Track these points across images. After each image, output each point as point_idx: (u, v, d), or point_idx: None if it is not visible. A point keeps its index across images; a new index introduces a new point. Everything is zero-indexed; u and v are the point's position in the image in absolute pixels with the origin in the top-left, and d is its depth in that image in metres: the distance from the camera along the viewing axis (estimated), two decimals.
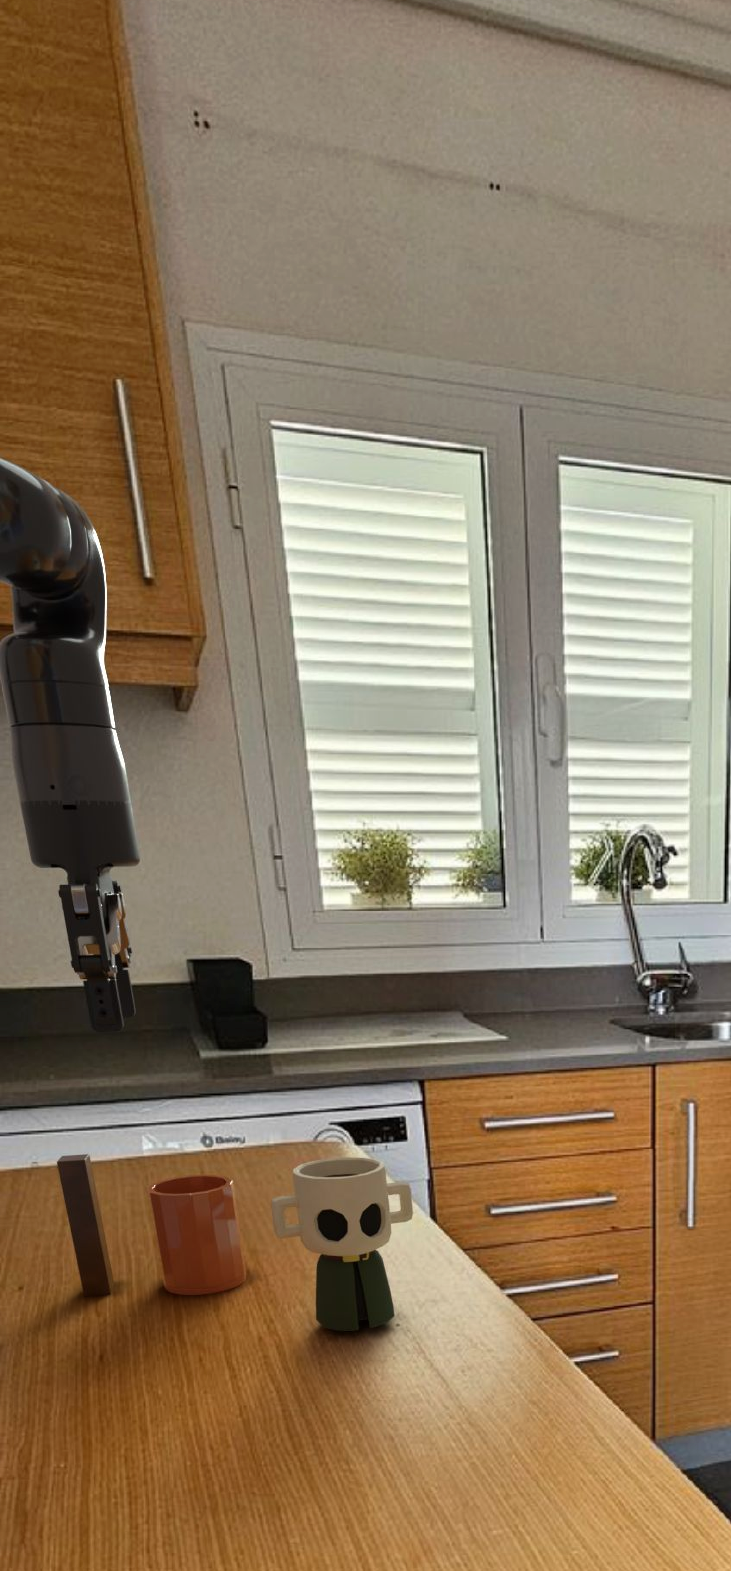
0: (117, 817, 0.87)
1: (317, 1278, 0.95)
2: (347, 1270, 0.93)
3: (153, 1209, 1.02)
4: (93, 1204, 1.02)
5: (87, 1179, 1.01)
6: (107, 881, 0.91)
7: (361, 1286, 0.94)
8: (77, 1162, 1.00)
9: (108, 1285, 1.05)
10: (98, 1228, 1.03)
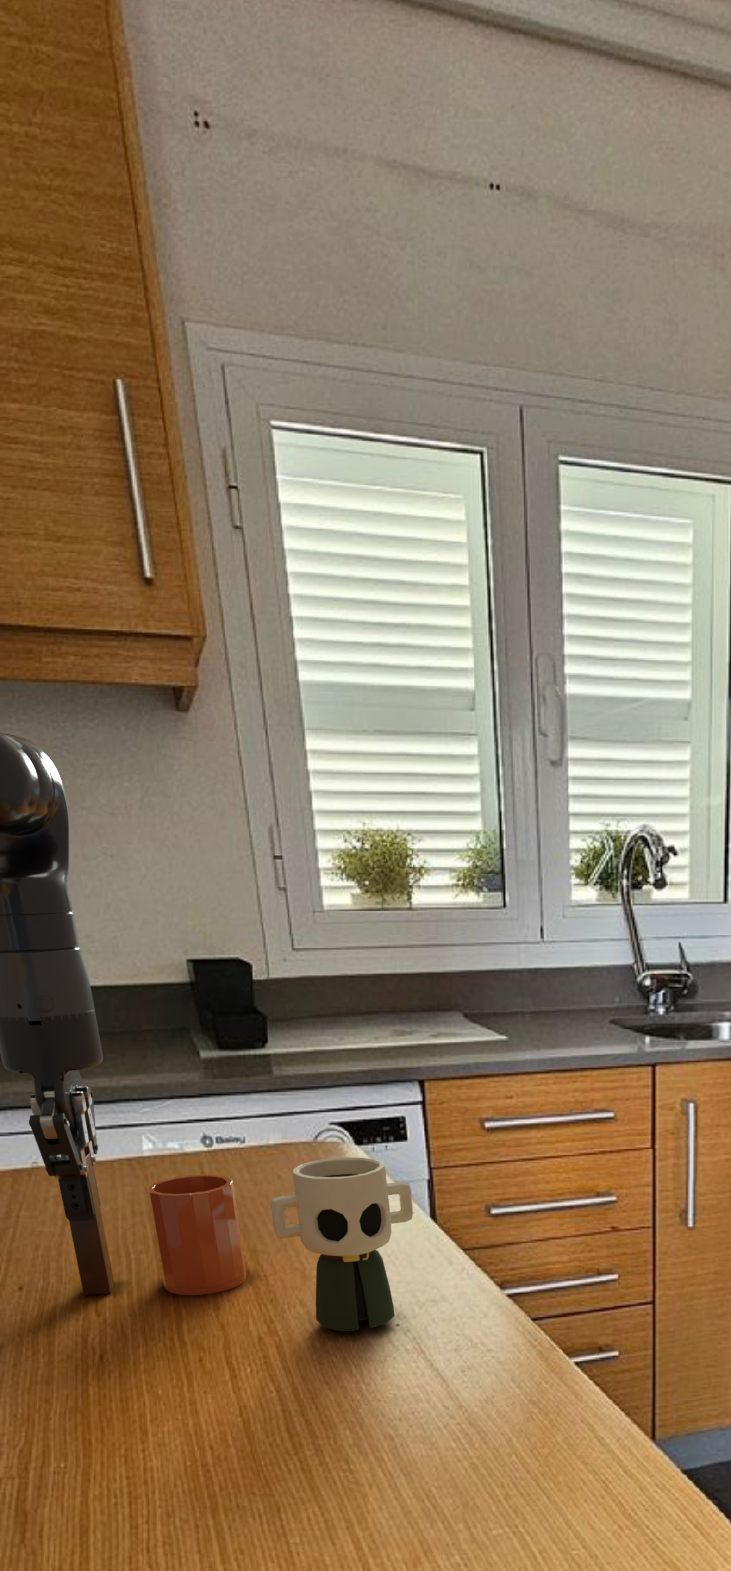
0: (79, 1027, 0.95)
1: (317, 1278, 0.95)
2: (347, 1270, 0.93)
3: (153, 1209, 1.02)
4: (93, 1203, 1.02)
5: None
6: (73, 1077, 1.00)
7: (361, 1286, 0.94)
8: None
9: (108, 1284, 1.05)
10: (98, 1227, 1.03)
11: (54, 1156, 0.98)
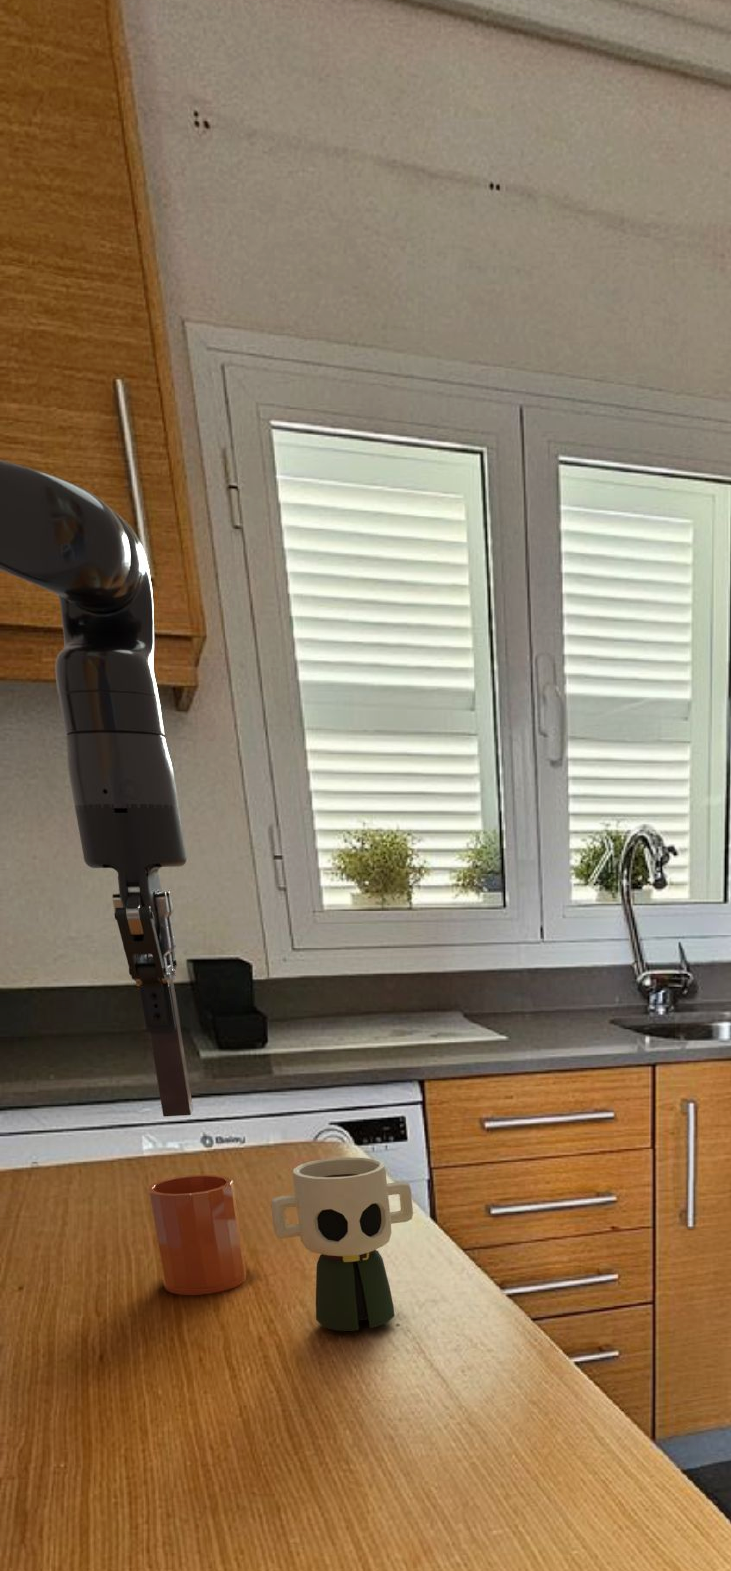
0: (165, 819, 0.92)
1: (317, 1278, 0.95)
2: (347, 1270, 0.93)
3: (153, 1209, 1.02)
4: (175, 1016, 0.98)
5: None
6: (155, 880, 0.96)
7: (361, 1286, 0.94)
8: None
9: (188, 1105, 1.01)
10: (179, 1043, 0.99)
11: (136, 960, 0.95)
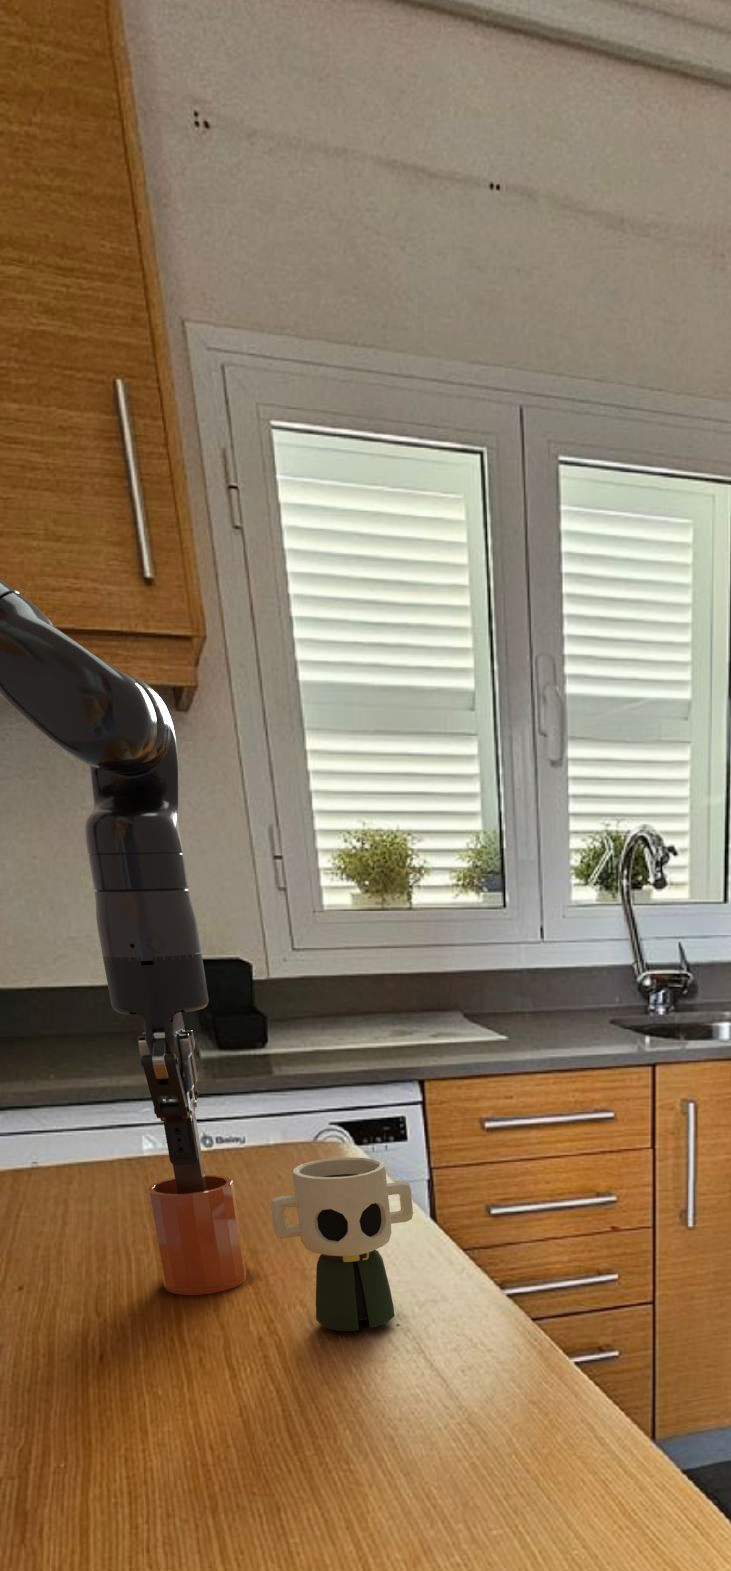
0: (189, 968, 0.96)
1: (317, 1278, 0.95)
2: (347, 1270, 0.93)
3: (153, 1209, 1.02)
4: (197, 1147, 1.02)
5: (192, 1122, 1.01)
6: (179, 1020, 1.00)
7: (361, 1286, 0.94)
8: None
9: None
10: (201, 1172, 1.03)
11: (161, 1099, 0.99)
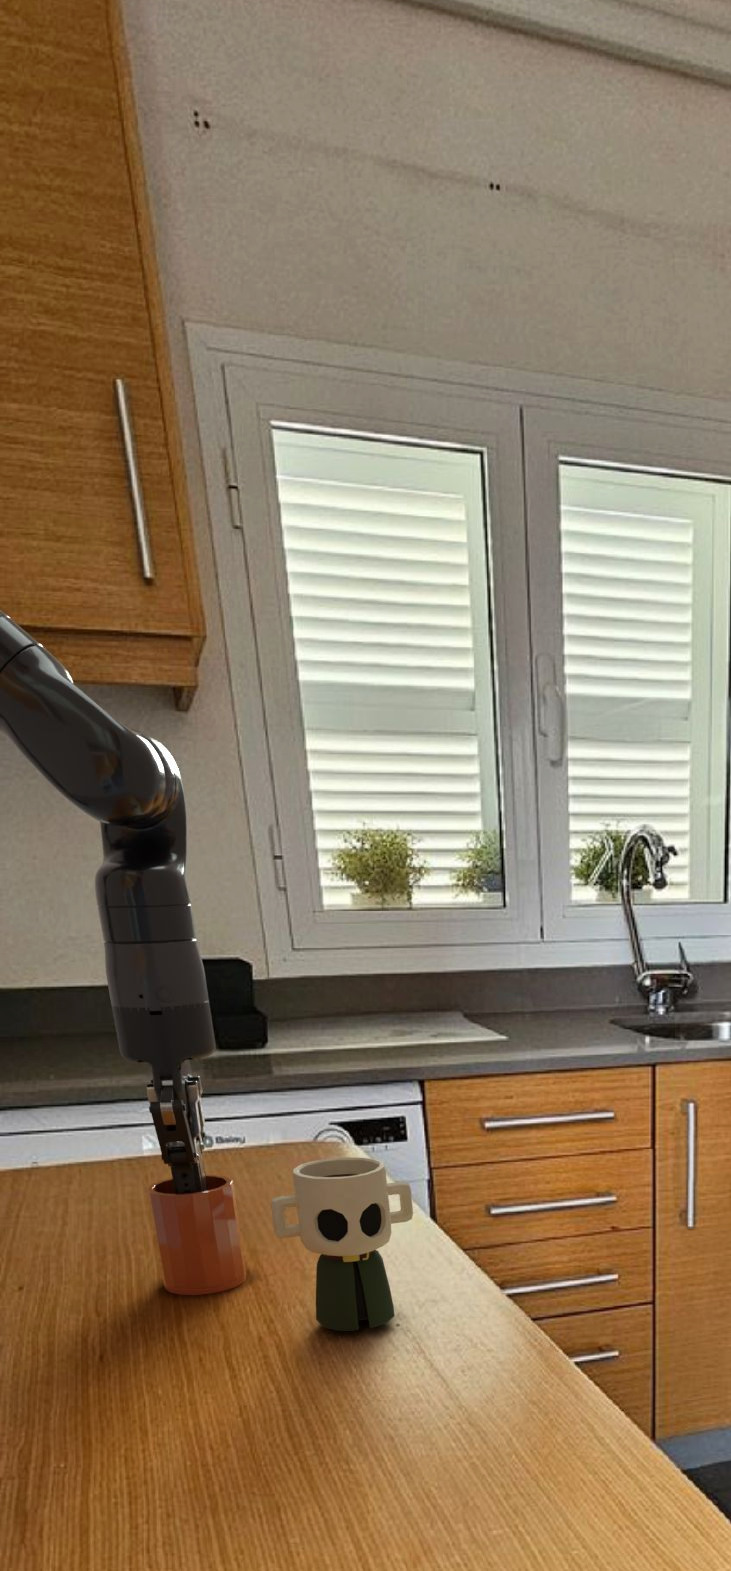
0: (197, 1017, 0.97)
1: (317, 1278, 0.95)
2: (347, 1270, 0.93)
3: (153, 1209, 1.02)
4: (203, 1189, 1.04)
5: None
6: (186, 1067, 1.01)
7: (361, 1286, 0.94)
8: None
9: None
10: None
11: (168, 1144, 1.00)
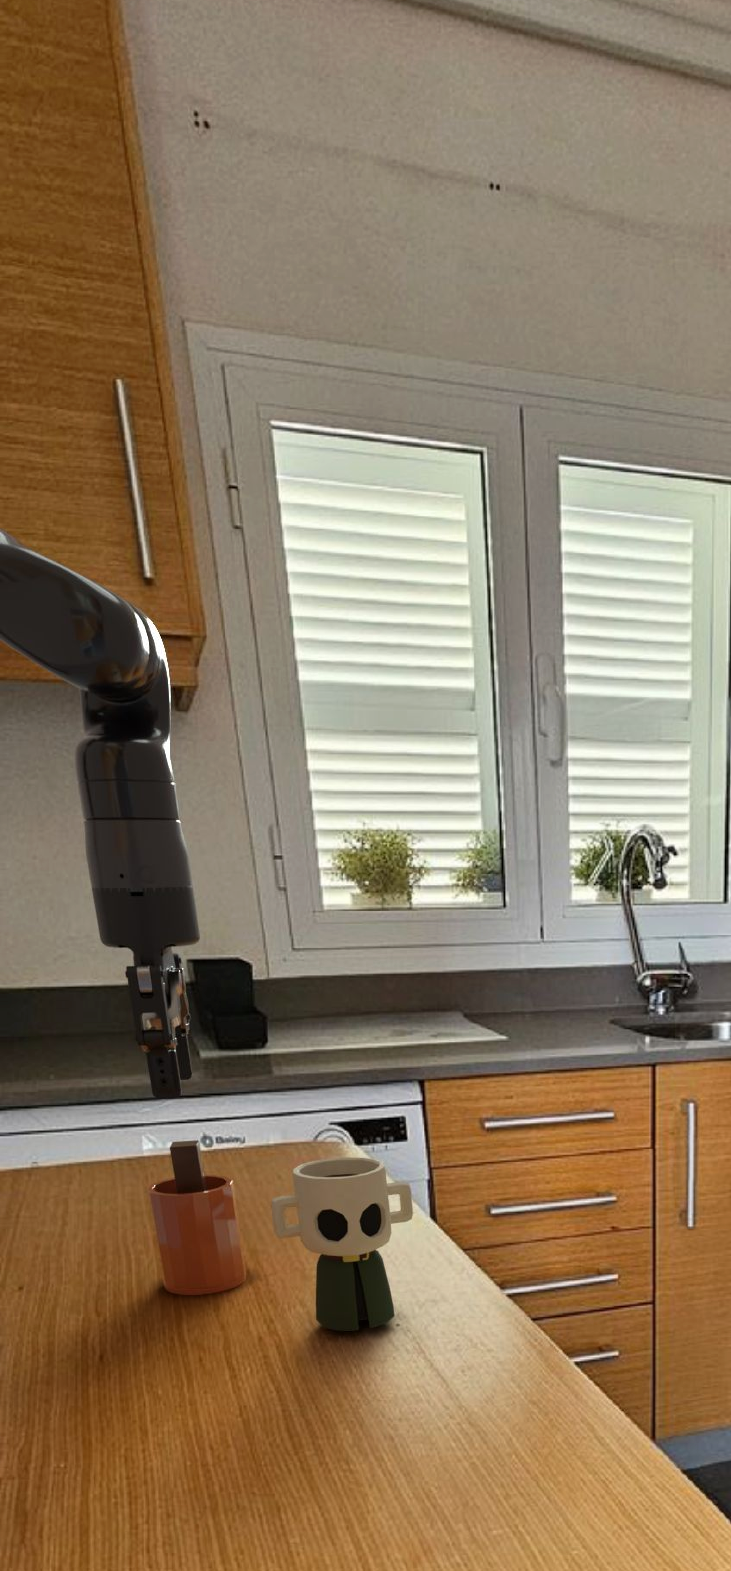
0: (180, 901, 0.94)
1: (317, 1278, 0.95)
2: (347, 1270, 0.93)
3: (153, 1209, 1.02)
4: (203, 1189, 1.04)
5: (198, 1164, 1.03)
6: (169, 957, 0.98)
7: (361, 1286, 0.94)
8: (189, 1147, 1.02)
9: None
10: None
11: (144, 1024, 0.95)
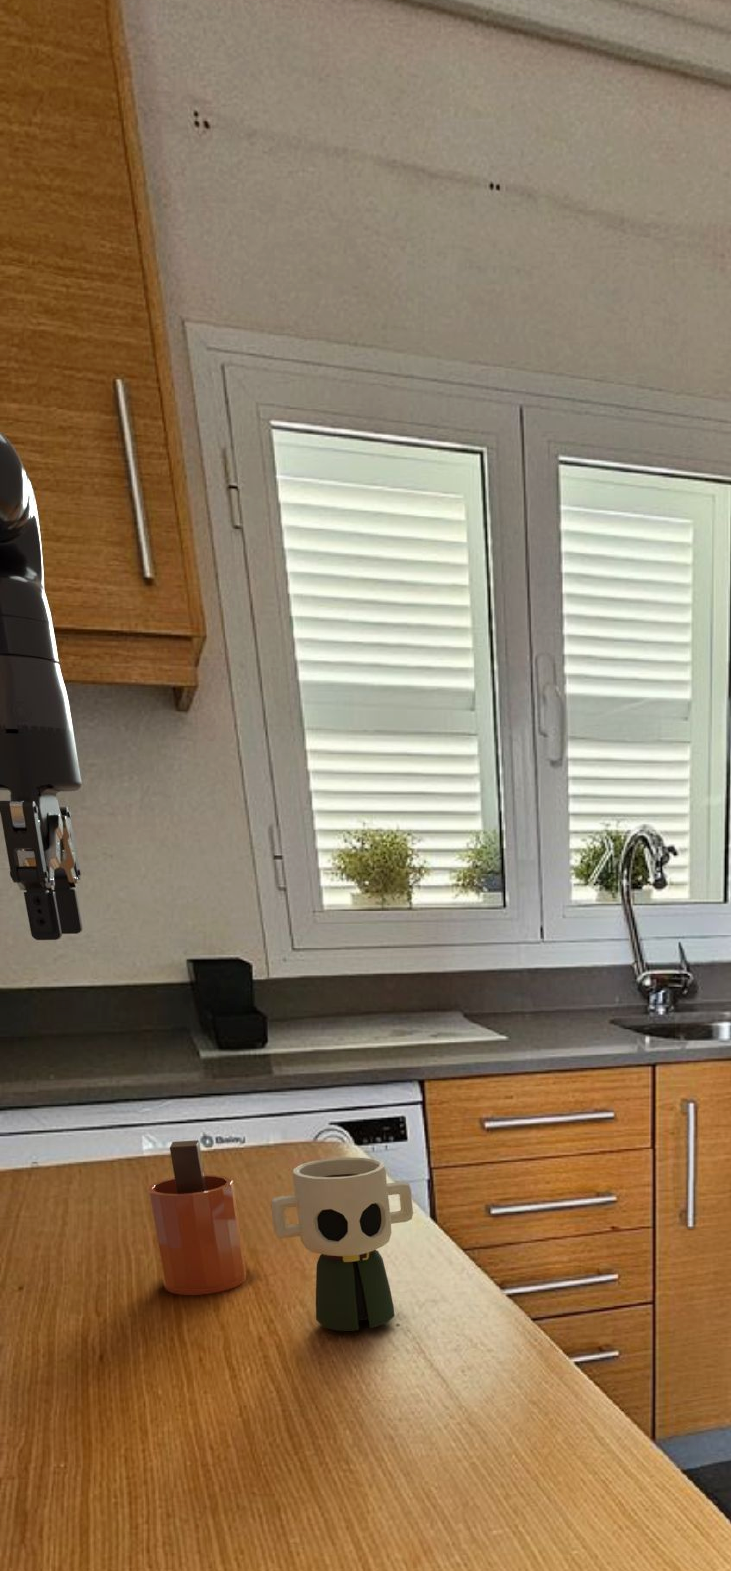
0: (57, 742, 0.96)
1: (317, 1278, 0.95)
2: (347, 1270, 0.93)
3: (153, 1209, 1.02)
4: (203, 1189, 1.04)
5: (198, 1164, 1.03)
6: (52, 803, 1.00)
7: (361, 1286, 0.94)
8: (189, 1147, 1.02)
9: None
10: None
11: (21, 864, 0.96)
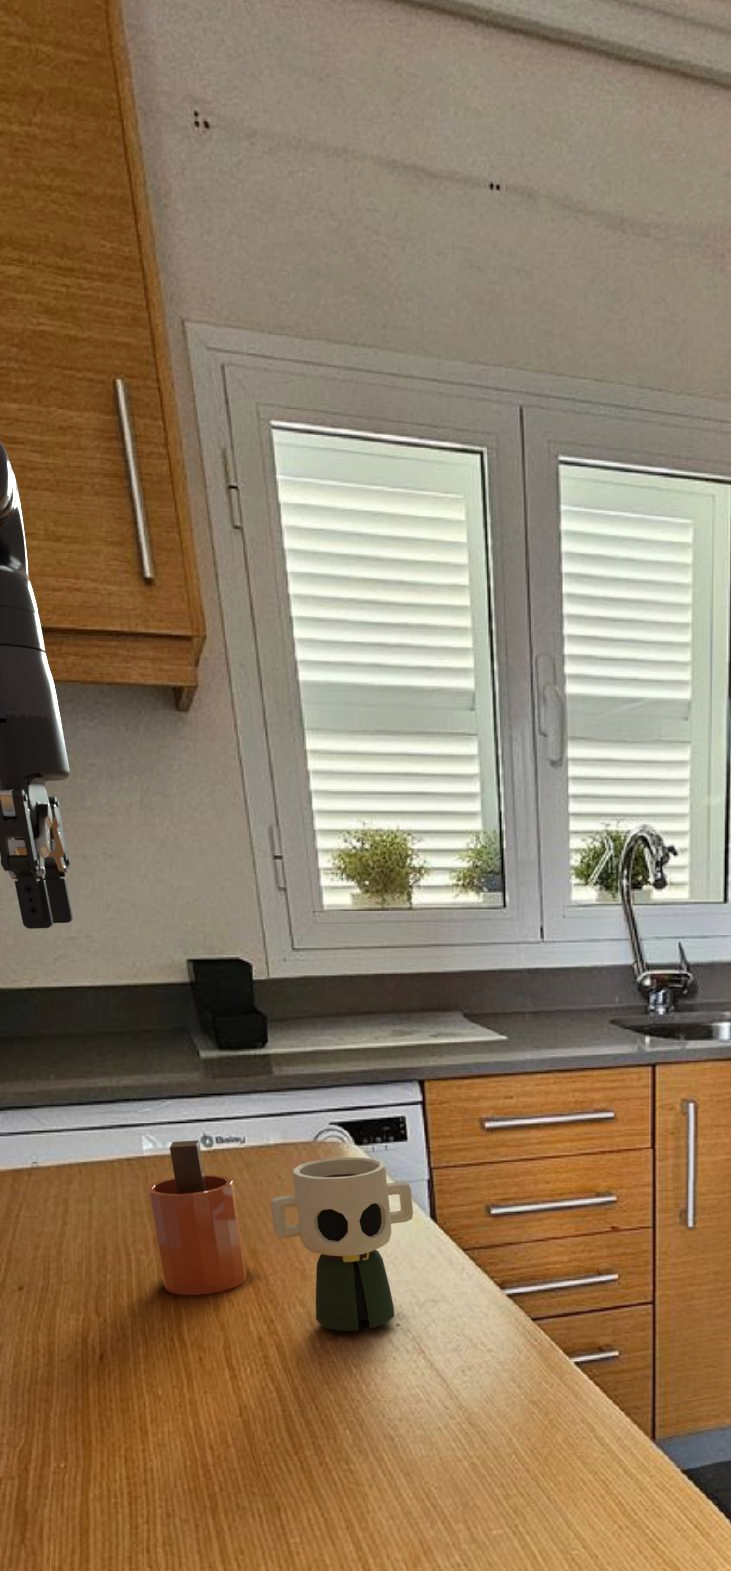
0: (45, 731, 0.96)
1: (317, 1278, 0.95)
2: (347, 1270, 0.93)
3: (153, 1209, 1.02)
4: (203, 1189, 1.04)
5: (198, 1164, 1.03)
6: (40, 793, 1.00)
7: (361, 1286, 0.94)
8: (189, 1147, 1.02)
9: None
10: None
11: (12, 852, 0.97)
